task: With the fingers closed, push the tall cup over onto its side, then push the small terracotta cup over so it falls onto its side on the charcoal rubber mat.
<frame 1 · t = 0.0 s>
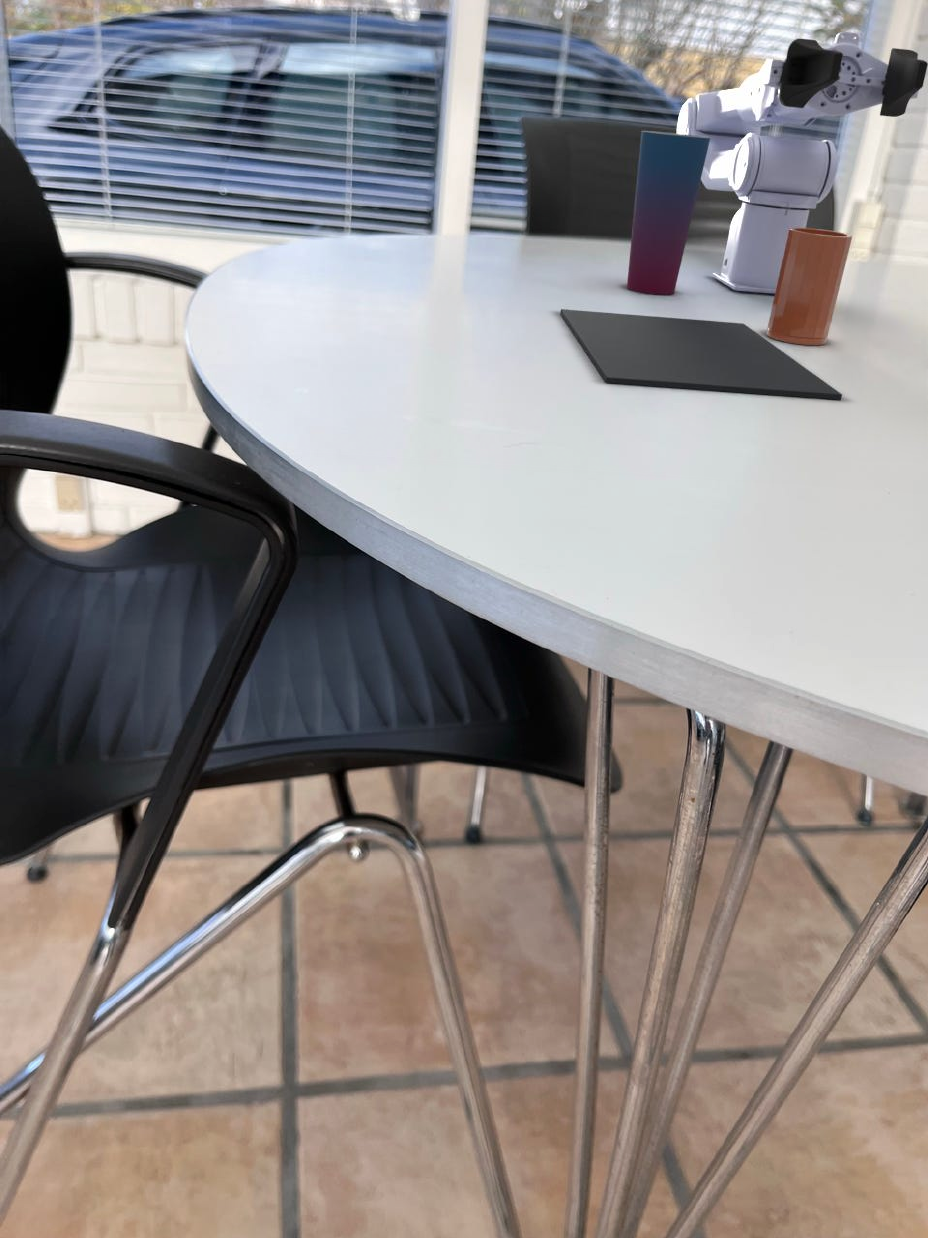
hand: (879, 70, 89), 22 cm above the table, tool horizontal, fingers open, 7 cm apart
mat: (683, 351, 83), on the table
cup: (650, 291, 109), on the table
small cup: (795, 338, 92), on the table
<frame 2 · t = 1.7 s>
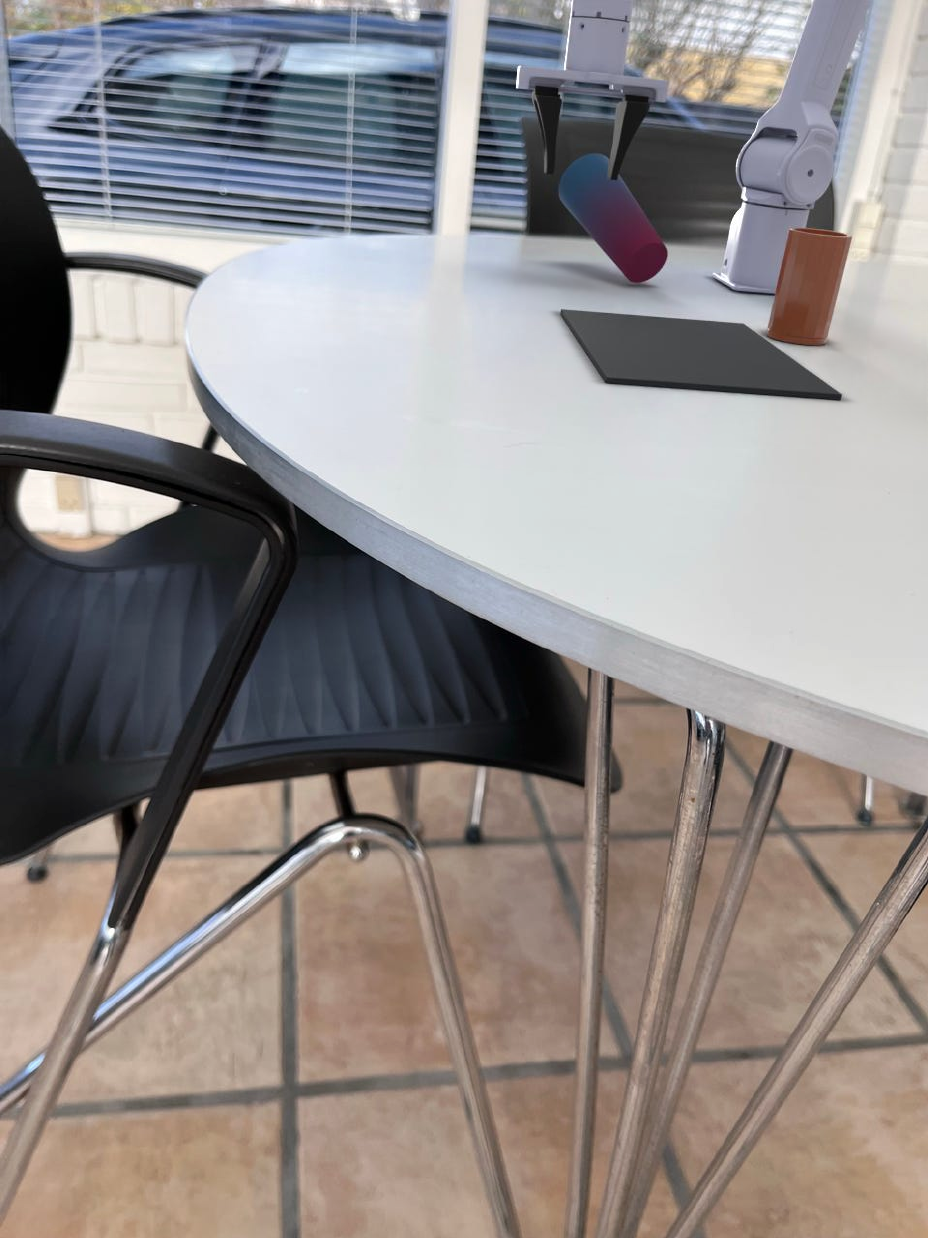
hand: (580, 176, 103), 10 cm above the table, tool pointing down, fingers open, 6 cm apart
cup: (647, 264, 108), point 2 cm above the table
everything else where it was.
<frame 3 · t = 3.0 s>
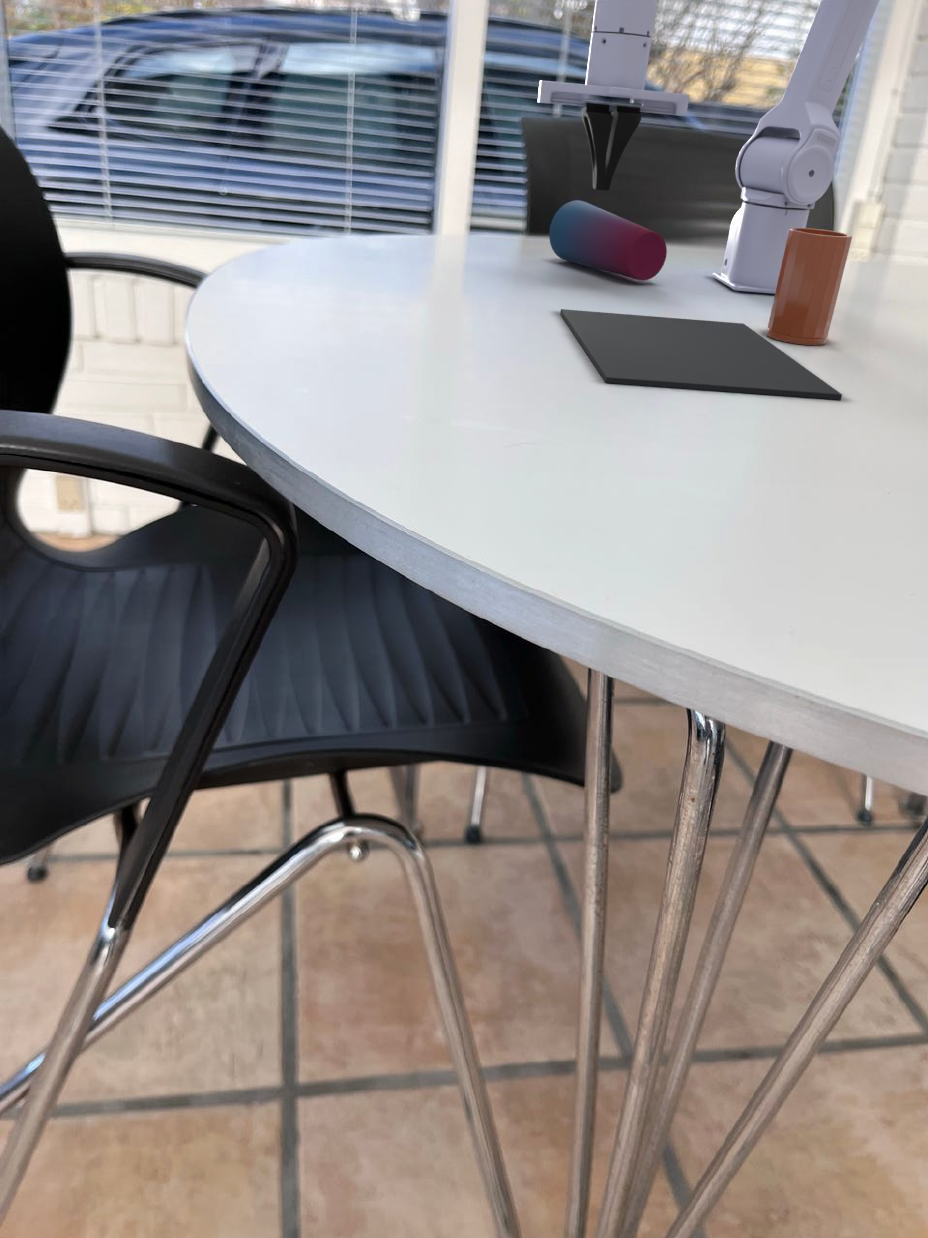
hand: (600, 189, 104), 9 cm above the table, tool pointing down, fingers closed
cup: (648, 256, 109), point 3 cm above the table
everything else where it was.
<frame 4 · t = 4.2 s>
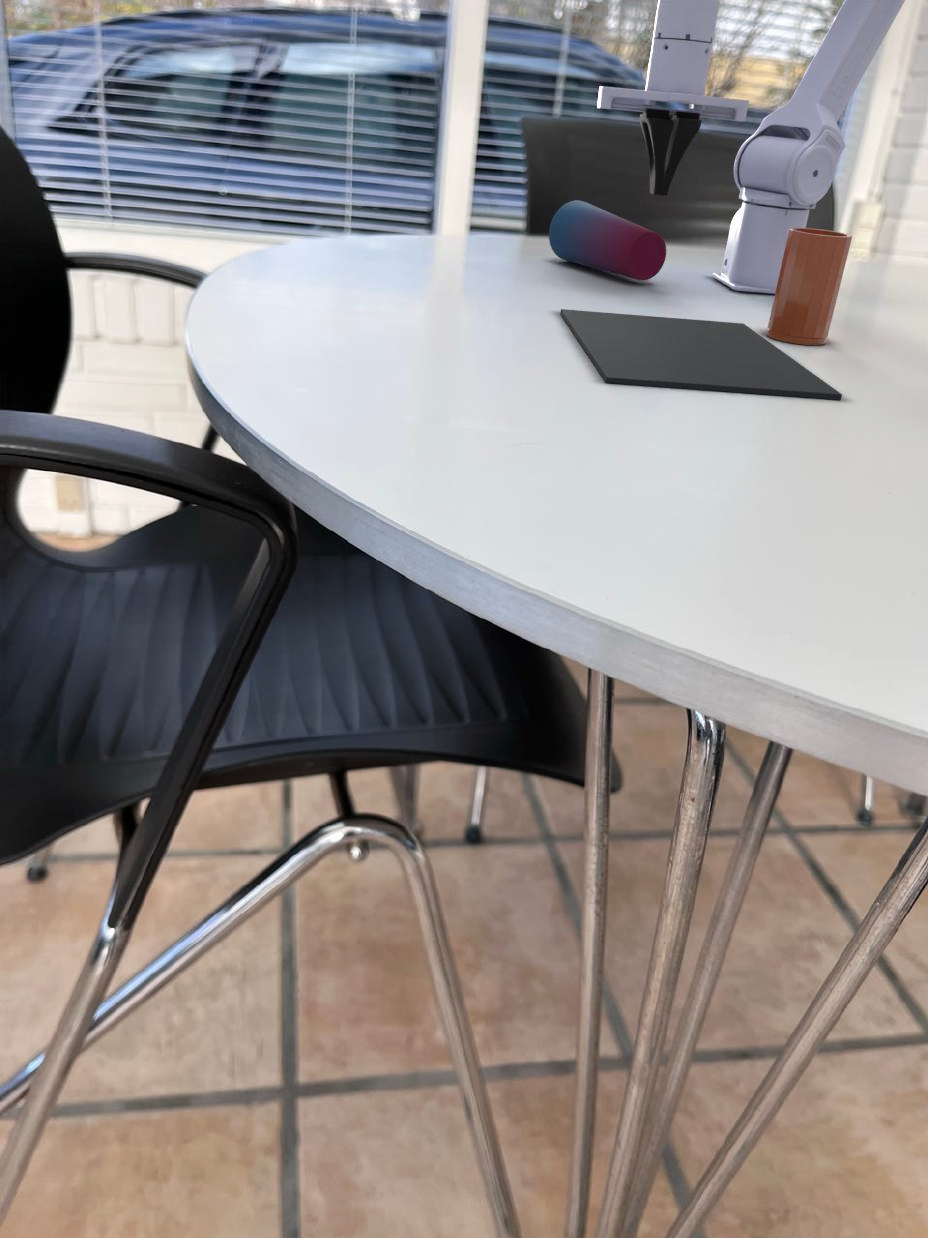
hand: (658, 194, 104), 9 cm above the table, tool pointing down, fingers closed
nothing on the table moved.
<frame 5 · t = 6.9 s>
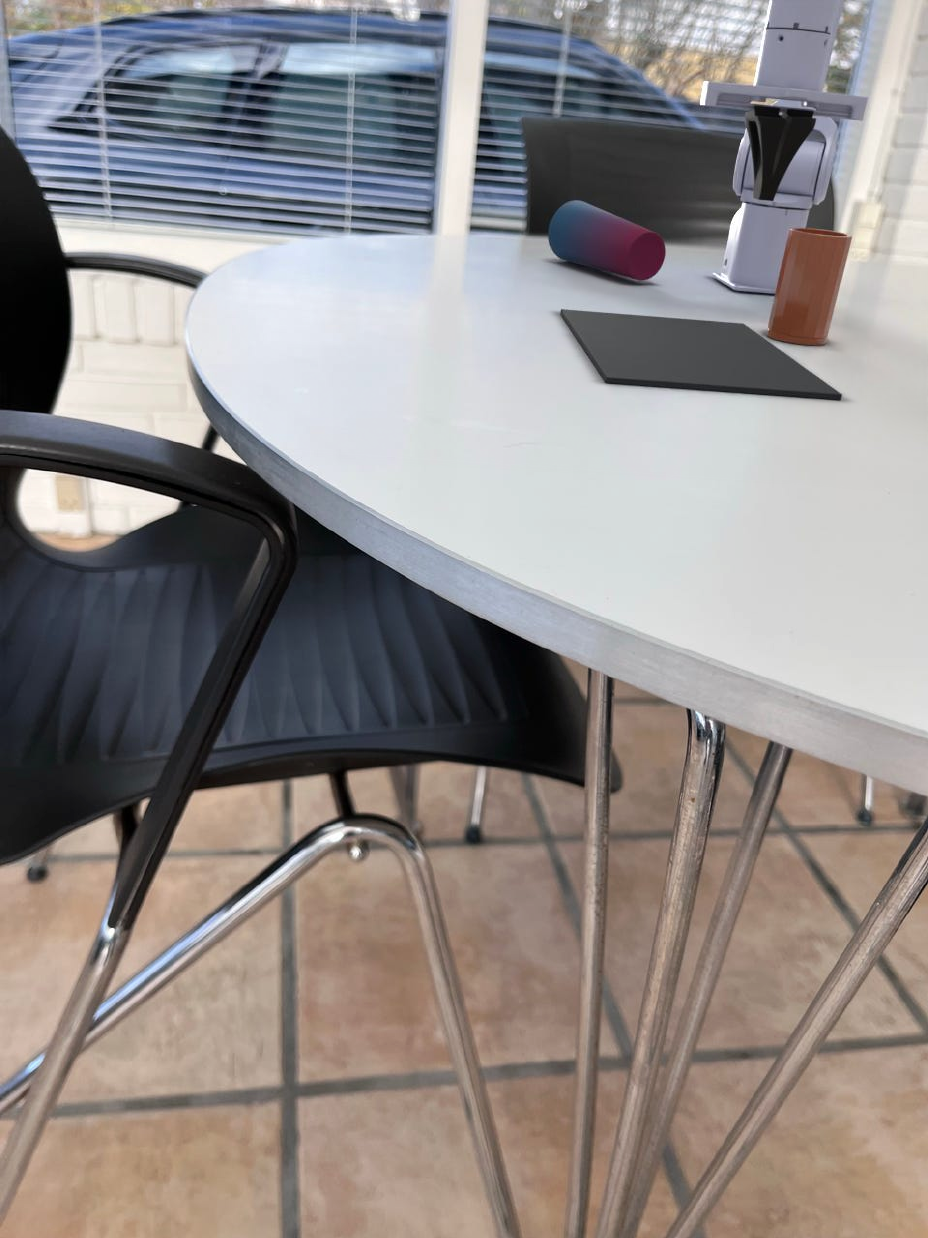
hand: (763, 199, 95), 10 cm above the table, tool pointing down, fingers closed
nothing on the table moved.
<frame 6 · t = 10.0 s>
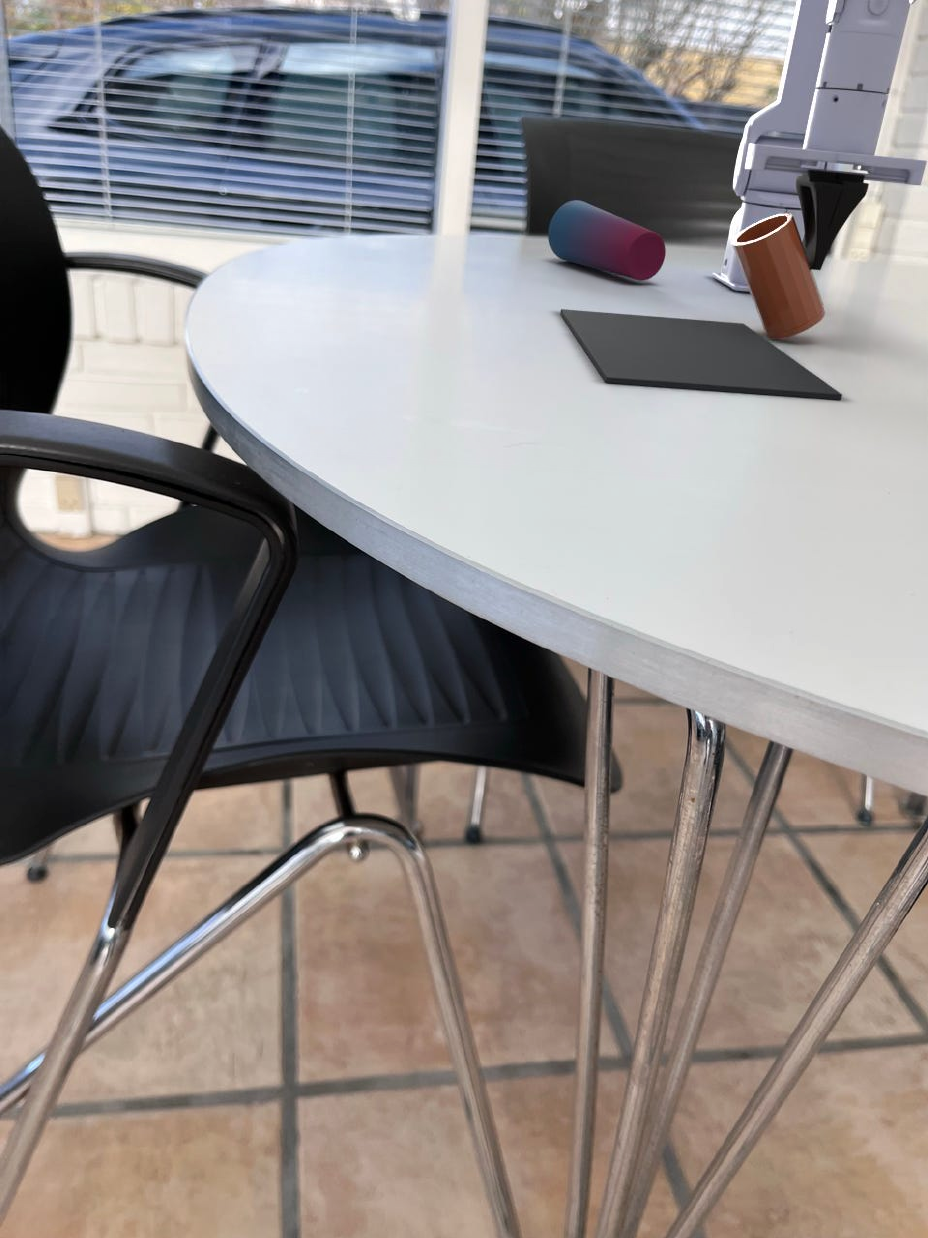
hand: (811, 268, 88), 6 cm above the table, tool pointing down, fingers closed, pressing on small cup
small cup: (795, 323, 91), point 1 cm above the table, tilted 33°, touching gripper
everything else where it was.
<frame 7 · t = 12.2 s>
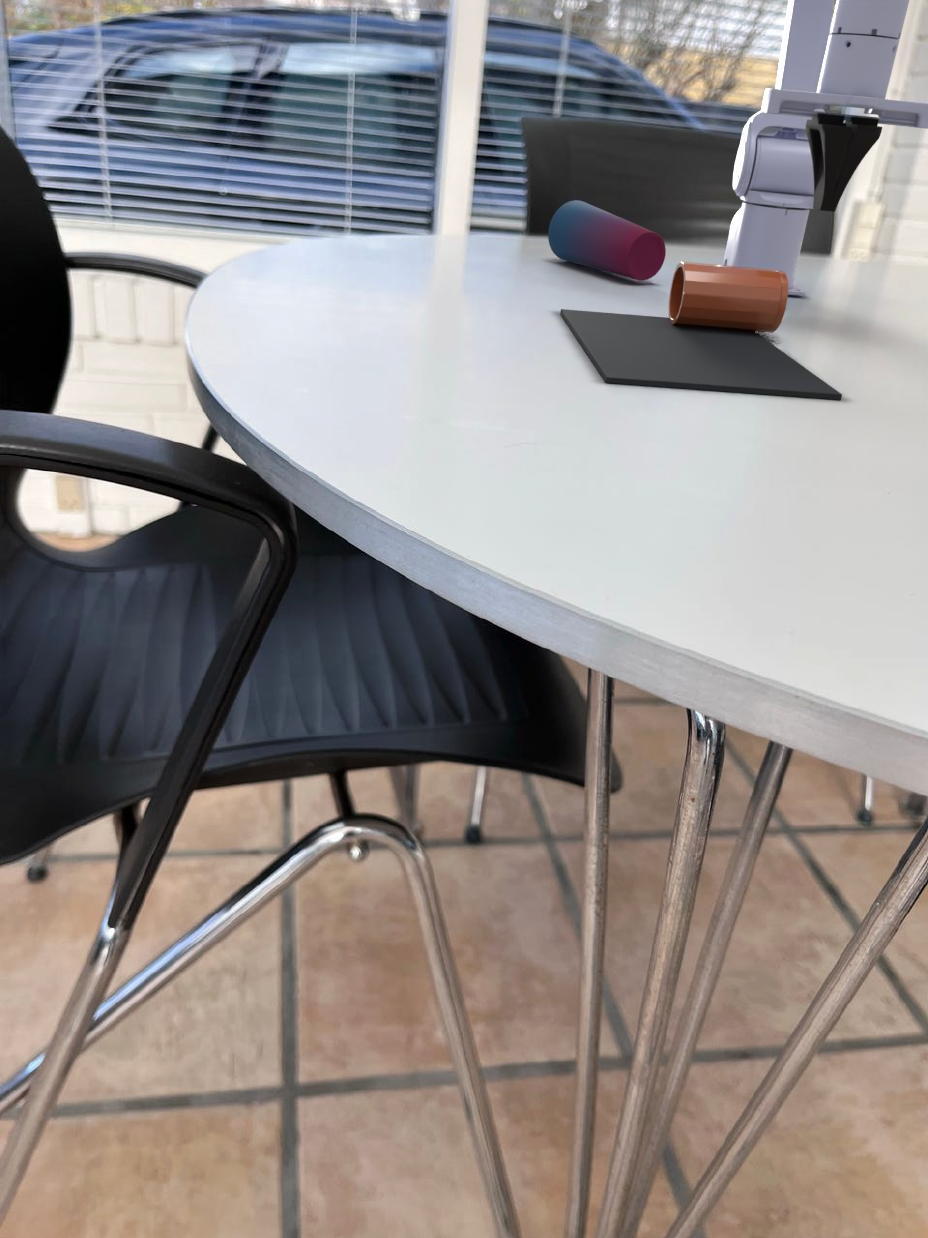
hand: (823, 209, 92), 10 cm above the table, tool pointing down, fingers closed
small cup: (777, 301, 90), point 3 cm above the table, tilted 90°, touching mat
everything else where it was.
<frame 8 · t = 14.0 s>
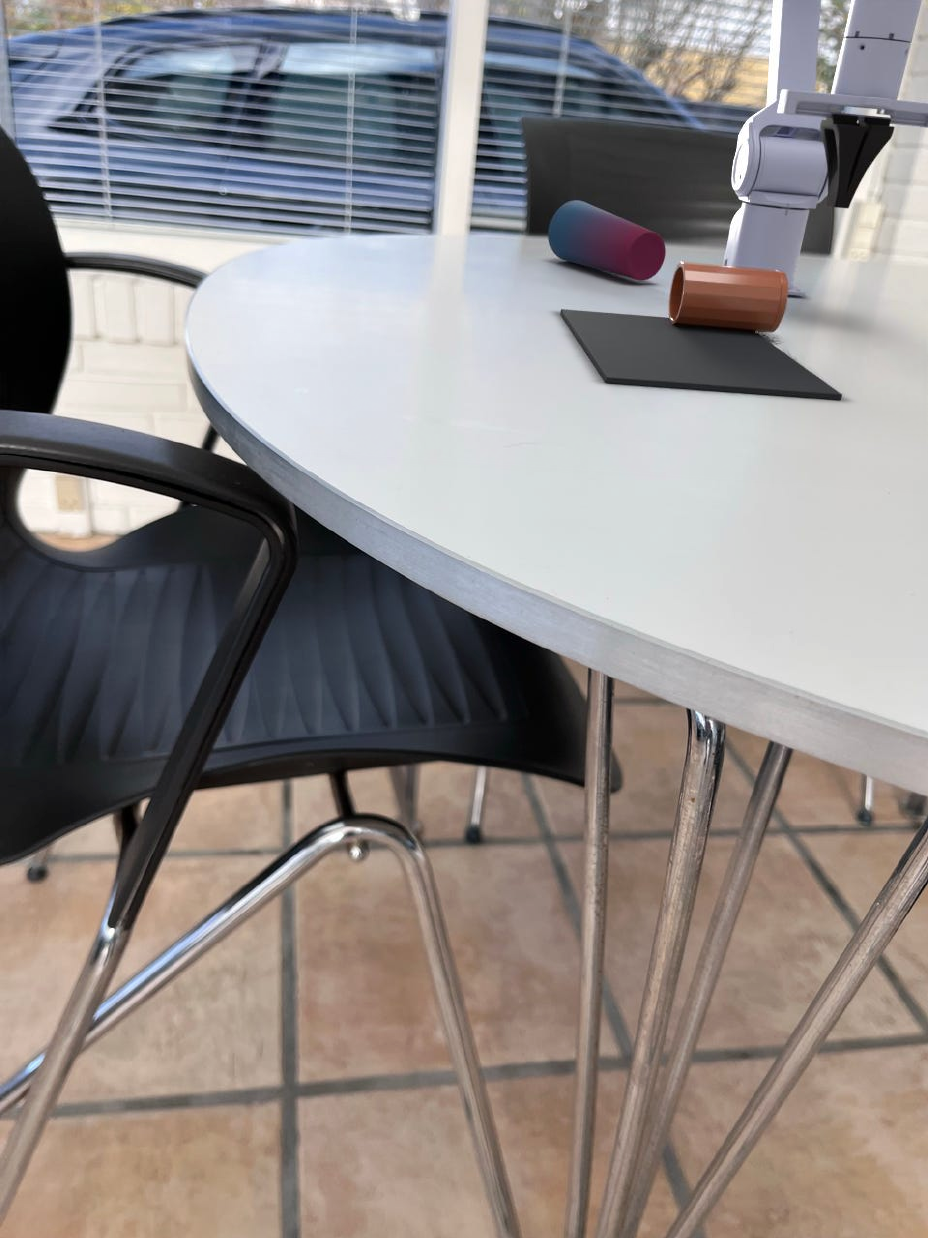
hand: (837, 206, 96), 10 cm above the table, tool pointing down, fingers closed
nothing on the table moved.
at the end: cup tilted 88°; small cup tilted 90°; small cup touching mat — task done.
